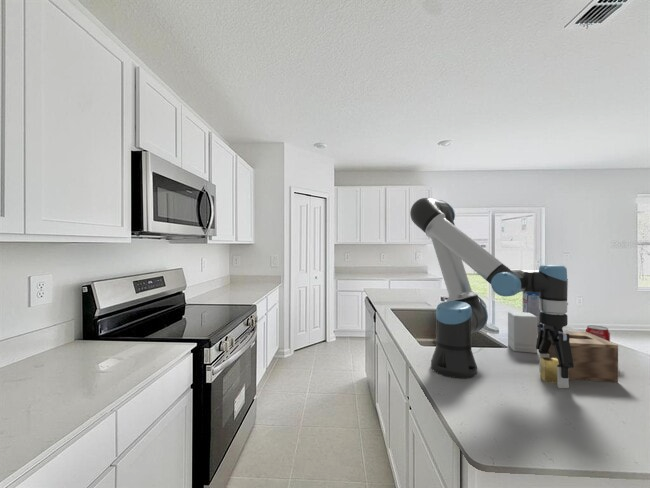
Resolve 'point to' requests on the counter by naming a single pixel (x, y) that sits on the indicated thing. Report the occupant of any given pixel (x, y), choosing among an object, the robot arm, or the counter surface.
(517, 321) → the supplement box
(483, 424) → the counter surface
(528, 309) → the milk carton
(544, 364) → the block
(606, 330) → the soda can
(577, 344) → the coin box
